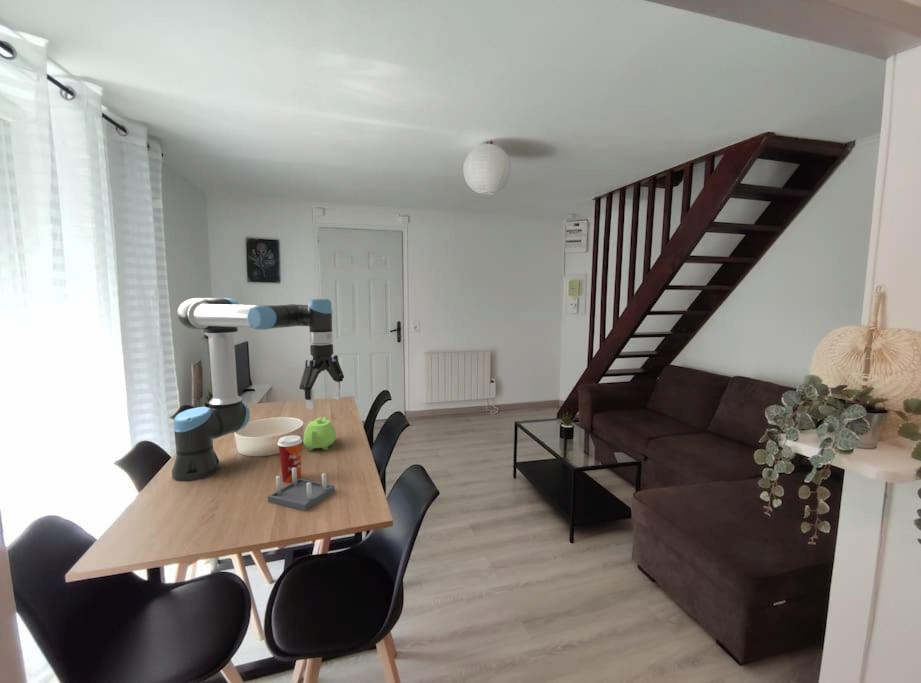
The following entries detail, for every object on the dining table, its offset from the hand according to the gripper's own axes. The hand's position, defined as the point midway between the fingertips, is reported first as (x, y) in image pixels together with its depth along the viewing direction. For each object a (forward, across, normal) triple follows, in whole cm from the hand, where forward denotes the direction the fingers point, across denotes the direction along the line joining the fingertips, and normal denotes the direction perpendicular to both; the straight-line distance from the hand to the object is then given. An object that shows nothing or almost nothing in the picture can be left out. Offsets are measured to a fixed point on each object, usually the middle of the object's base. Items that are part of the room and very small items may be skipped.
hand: (323, 403), depth 145 cm
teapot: (+28, +25, +24) cm, 45 cm away
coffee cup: (+28, -4, +12) cm, 31 cm away
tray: (+28, -13, -1) cm, 31 cm away
